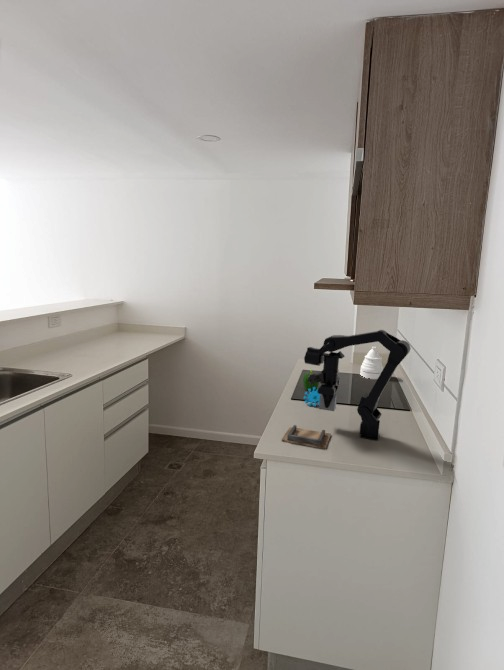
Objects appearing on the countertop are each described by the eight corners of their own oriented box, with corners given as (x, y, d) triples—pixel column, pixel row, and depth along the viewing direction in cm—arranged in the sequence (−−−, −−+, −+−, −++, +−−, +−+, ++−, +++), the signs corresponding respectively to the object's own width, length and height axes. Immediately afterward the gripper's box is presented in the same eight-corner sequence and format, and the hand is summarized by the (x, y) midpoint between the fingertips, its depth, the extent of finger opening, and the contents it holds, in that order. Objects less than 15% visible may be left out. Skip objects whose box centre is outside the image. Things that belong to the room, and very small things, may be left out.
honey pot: (383, 380, 241) (386, 349, 238) (360, 377, 244) (362, 347, 241) (381, 374, 254) (384, 345, 250) (359, 372, 256) (362, 343, 253)
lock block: (335, 407, 170) (336, 394, 169) (334, 411, 165) (335, 397, 164) (320, 405, 171) (321, 392, 170) (318, 409, 167) (319, 395, 166)
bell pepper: (317, 393, 212) (318, 373, 210) (301, 390, 214) (302, 371, 213) (319, 388, 220) (321, 369, 218) (304, 386, 222) (305, 367, 221)
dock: (330, 435, 161) (331, 429, 160) (325, 448, 148) (326, 442, 148) (289, 428, 165) (290, 422, 165) (281, 441, 153) (281, 434, 153)
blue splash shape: (299, 400, 194) (310, 383, 198) (302, 406, 198) (312, 389, 202) (320, 409, 188) (330, 391, 191) (322, 415, 192) (333, 398, 196)
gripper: (314, 360, 176) (311, 396, 179) (305, 370, 159) (302, 410, 162) (341, 363, 173) (338, 399, 176) (335, 374, 156) (332, 414, 158)
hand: (327, 405), depth 168 cm, fingers closed on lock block, 5 cm apart
